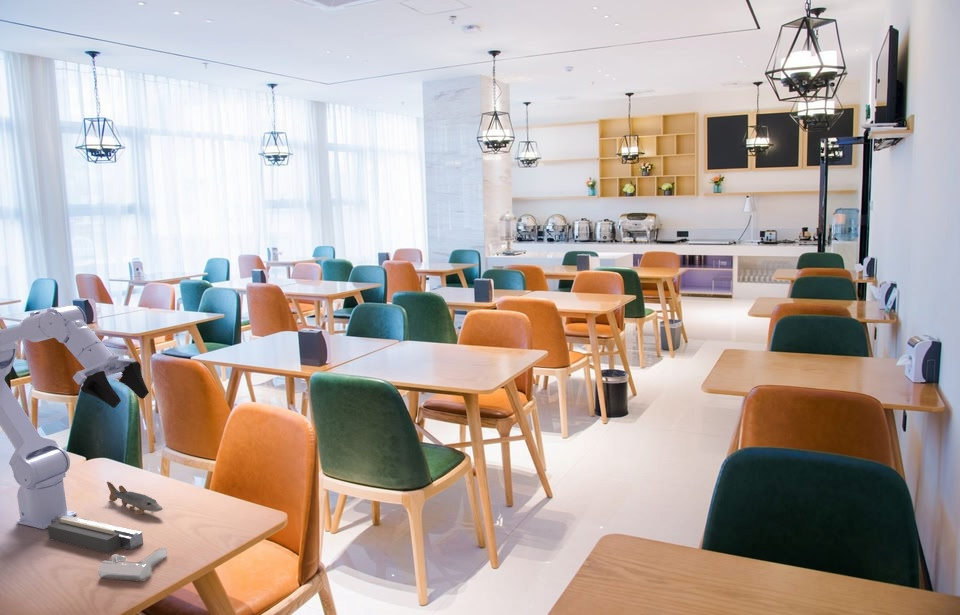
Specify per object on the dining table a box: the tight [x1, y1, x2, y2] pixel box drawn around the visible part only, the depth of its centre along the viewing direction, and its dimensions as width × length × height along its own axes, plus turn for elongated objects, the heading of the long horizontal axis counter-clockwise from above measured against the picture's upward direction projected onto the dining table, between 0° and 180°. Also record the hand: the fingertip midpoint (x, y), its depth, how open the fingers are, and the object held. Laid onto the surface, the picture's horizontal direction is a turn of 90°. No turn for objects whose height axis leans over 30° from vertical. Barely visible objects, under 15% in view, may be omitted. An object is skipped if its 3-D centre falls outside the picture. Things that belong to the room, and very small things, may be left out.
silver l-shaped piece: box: [97, 547, 168, 582], centre depth 136 cm, size 10×4×9 cm
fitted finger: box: [47, 518, 122, 555], centre depth 146 cm, size 18×3×4 cm, turn 66°
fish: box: [106, 481, 163, 515], centre depth 162 cm, size 4×21×5 cm, turn 58°
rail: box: [51, 514, 144, 551], centre depth 149 cm, size 24×3×3 cm, turn 66°
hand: (131, 399), depth 144 cm, fingers open, 7 cm apart
